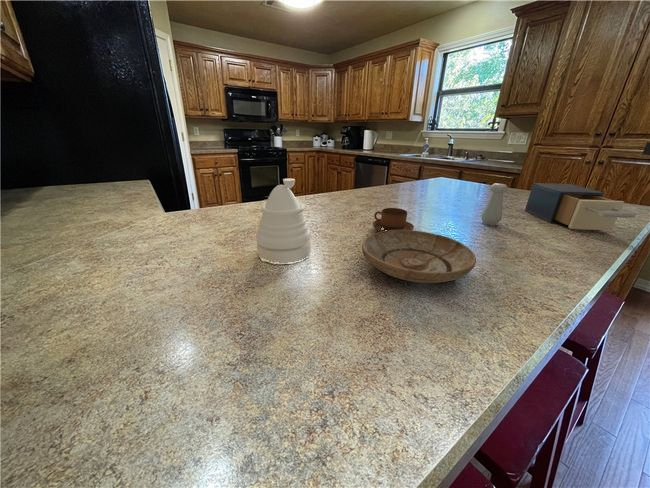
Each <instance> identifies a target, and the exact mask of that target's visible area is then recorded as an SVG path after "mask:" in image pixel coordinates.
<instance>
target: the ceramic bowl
mask: <svg viewBox="0 0 650 488" xmlns="http://www.w3.org/2000/svg"><path fill="white" fill-rule="evenodd" d="M361 252H362V255H363V256H364V257H365V259H366V260H367V262H368V263H369V264H370V265H372V266H373V267H374V268H376V269H377V270H378V271H381V272H382V273H384V274H386V275H388V276H390V277H393V278H396V279H399V280H404V281H408V282H410V283H411V282H412V283H421V284H438V283H439V284H441V283H444V282H450V281H454V280H457V279H460V278H462V277H464V276H465V275H468V274H469V273H470V272H471V271H472V270H473V269H474V268H475V266H476V262H477V257H476V254H475V252H473V250H472V249H471V248H470V247H468V246H466V245H465V244H464V243H463V242H460V241H458V240H455V239H453V238H450V237H448V236H445V235H441V234H437V233H433V232H427V231H423V230H422V231H421V230H414V229H413V230H389V231H383V232H380V231H378V232H375V233H372V234H370V235H368V236H366V238H365V239H363V241H362V243H361Z"/></svg>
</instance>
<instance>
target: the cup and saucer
mask: <svg viewBox="0 0 650 488" xmlns="http://www.w3.org/2000/svg"><path fill="white" fill-rule="evenodd" d="M378 214H379V215H381V217H380V218H378V217H377V215H378ZM373 218H374V221H373V222H372V227H373V228H374V229H375V230H376V231H378V232H383V231H385V230H387V231H389V230H414V228H415V226H414V225H413V224H412V223H411V222H409V221H407V219H408V211H407V210H405V209H404V208H398V207H386V208H383V209H382V210H381V211H379V210H378V211H376V212H374V215H373ZM382 227H383V228H384V230H381V228H382Z"/></svg>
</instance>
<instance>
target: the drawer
mask: <svg viewBox="0 0 650 488" xmlns="http://www.w3.org/2000/svg"><path fill="white" fill-rule="evenodd" d="M624 205H625V201H623V200H614V199H610V198H608V197H607V198H606V197H603V196H602V197H600V196H596V195H580V194H563V195H562V197H561V200H560V203H559V206H558V208H557V211H556V214H555V217H554V219H555V220H557V221H559V222H562V223H561V224H564V225H566V226H568V228H569V229H571V230H590V231H591V230H593V231H613V228H614V226H615V224H616V222H617V220H618V218H625V219H627V218H628V219H629V218H630V219H632V218H635V217H636V215H637V213H636V212H635V211H625V210H622V209H623V207H624Z"/></svg>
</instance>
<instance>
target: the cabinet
mask: <svg viewBox="0 0 650 488" xmlns="http://www.w3.org/2000/svg"><path fill="white" fill-rule="evenodd" d="M563 194H580V195H596V196H600V197H603V196H604V194H605V193H604V192H602V191H599V190H595V189H591V188H587V187H584V186H579V185H575V184H572V183H547V182H545V183H543V182H533V183H532V185H531V190H530V193H529V195H528V199H527V202H526V205H525V209H524V211H525V212H526V213H528V214H530V215H532V216H535V217H537V218H539V219H540V220H543V221H544V222H546V223H549V224H563V223H562V222H559V221H557V220H555V219H554V217H555V214H556V211H557V208H558V206H559V203H560V200H561V197H562V195H563Z"/></svg>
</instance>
